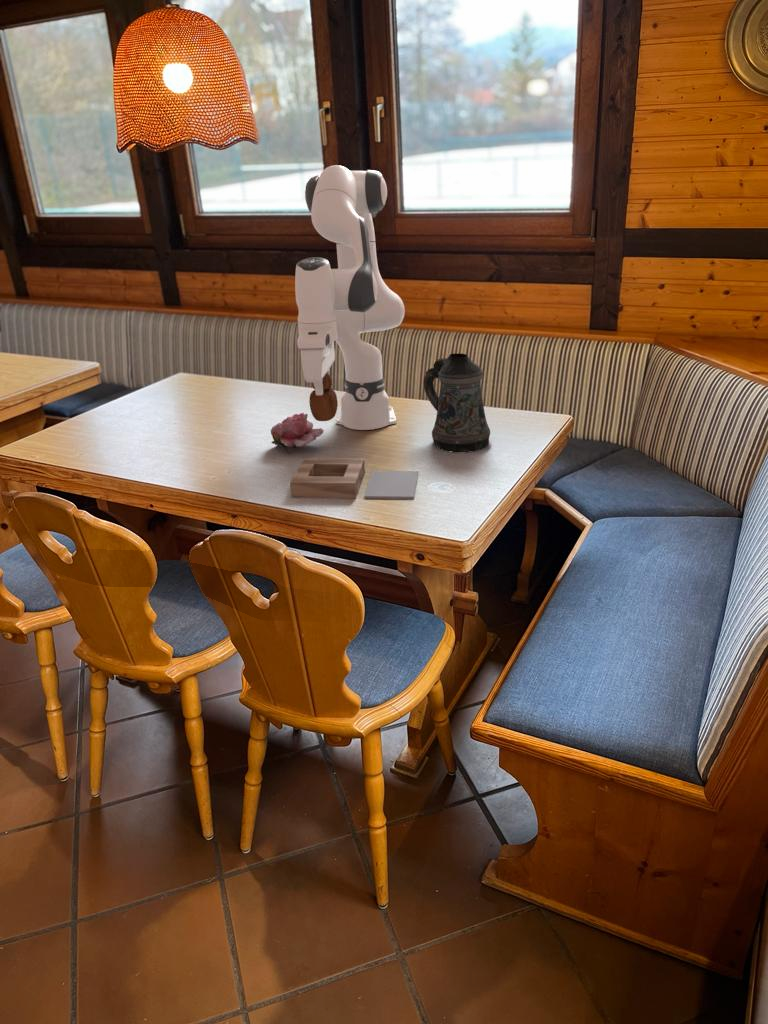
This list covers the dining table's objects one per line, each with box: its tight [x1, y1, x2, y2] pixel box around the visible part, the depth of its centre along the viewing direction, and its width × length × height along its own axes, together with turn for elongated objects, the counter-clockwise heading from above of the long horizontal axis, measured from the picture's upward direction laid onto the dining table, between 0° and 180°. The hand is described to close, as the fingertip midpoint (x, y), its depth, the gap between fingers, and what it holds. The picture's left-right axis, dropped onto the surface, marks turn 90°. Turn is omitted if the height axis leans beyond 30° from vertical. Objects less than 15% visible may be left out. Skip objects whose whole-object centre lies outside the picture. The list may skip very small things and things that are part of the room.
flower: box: [270, 412, 324, 454], centre depth 214 cm, size 15×15×10 cm
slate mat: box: [363, 470, 420, 500], centre depth 189 cm, size 16×12×1 cm
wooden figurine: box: [309, 373, 339, 422], centre depth 180 cm, size 7×6×15 cm
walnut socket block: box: [289, 457, 366, 499], centre depth 190 cm, size 16×16×4 cm
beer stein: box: [423, 352, 491, 453], centre depth 210 cm, size 16×19×25 cm
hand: (322, 390), depth 180 cm, fingers closed on wooden figurine, 5 cm apart
